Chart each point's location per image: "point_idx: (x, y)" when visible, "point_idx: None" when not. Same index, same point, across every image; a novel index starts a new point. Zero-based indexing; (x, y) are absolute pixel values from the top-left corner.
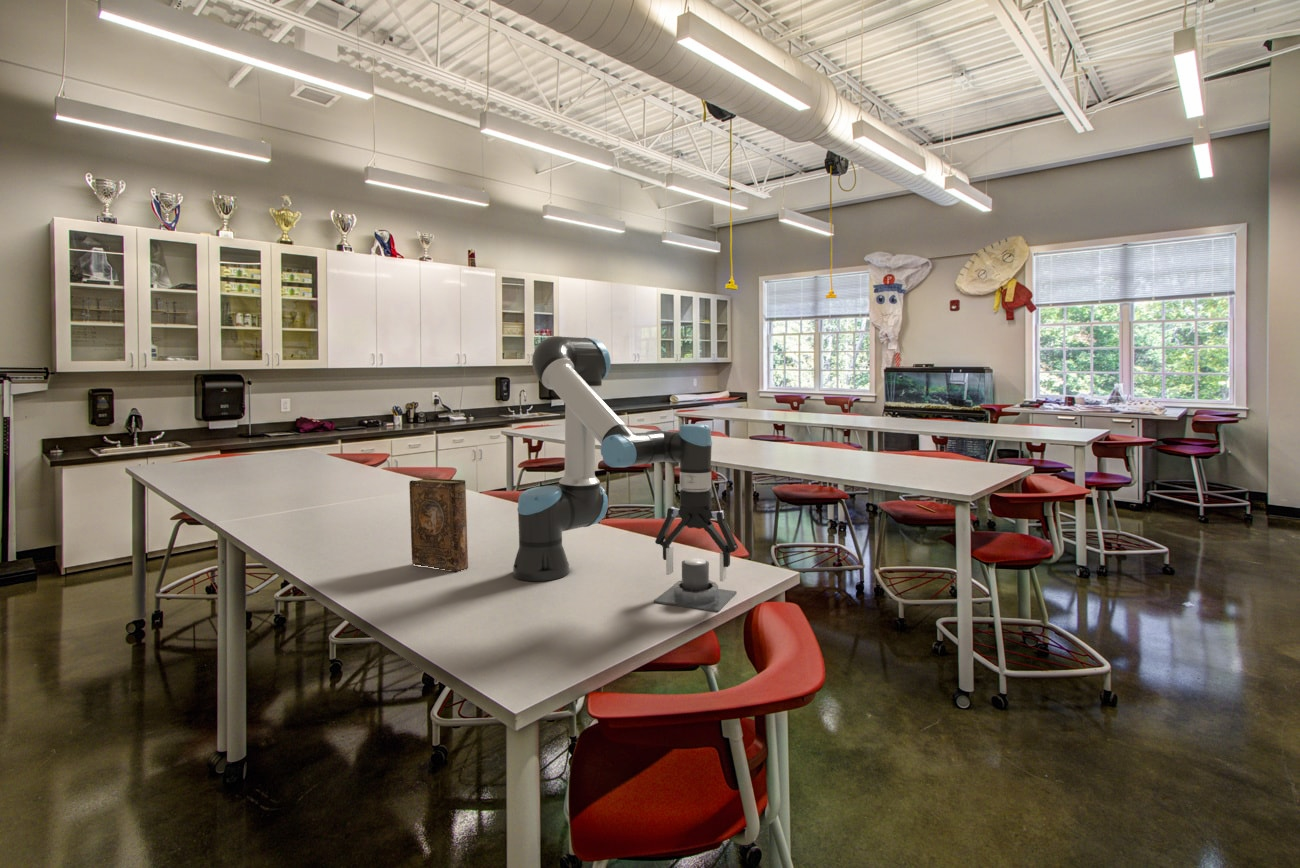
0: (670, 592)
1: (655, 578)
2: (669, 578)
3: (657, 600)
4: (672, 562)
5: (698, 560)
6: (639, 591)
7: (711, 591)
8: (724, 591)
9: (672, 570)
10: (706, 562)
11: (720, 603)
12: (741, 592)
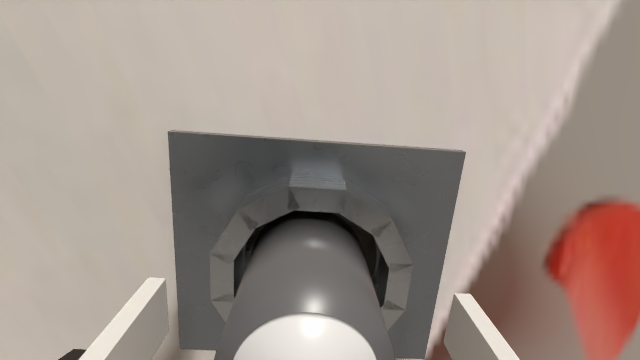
0: (199, 256)
1: (22, 58)
2: (88, 32)
3: (193, 346)
4: (137, 330)
5: (319, 356)
6: (67, 256)
7: (393, 321)
8: (414, 174)
9: (161, 298)
10: (376, 349)
11: (421, 305)
12: (481, 131)
